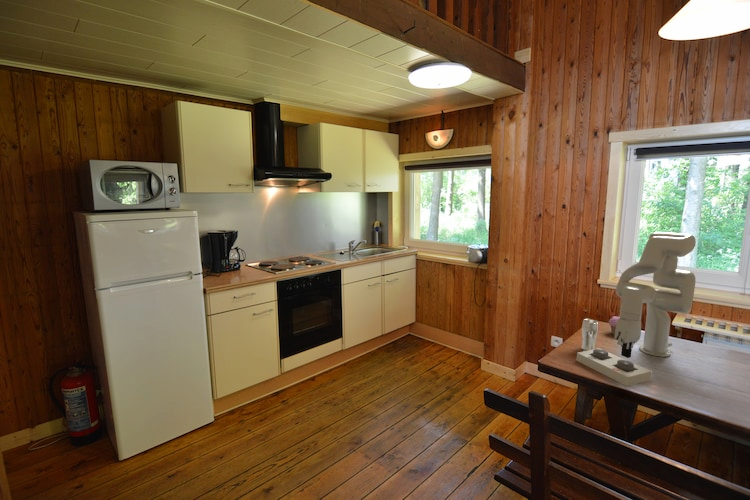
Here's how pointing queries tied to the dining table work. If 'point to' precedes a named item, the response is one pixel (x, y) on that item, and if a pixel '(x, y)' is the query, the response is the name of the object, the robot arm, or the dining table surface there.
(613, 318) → the cupcake
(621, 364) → the button marked
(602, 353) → the button plain
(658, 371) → the dining table surface
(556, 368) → the dining table surface
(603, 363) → the button board
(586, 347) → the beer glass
